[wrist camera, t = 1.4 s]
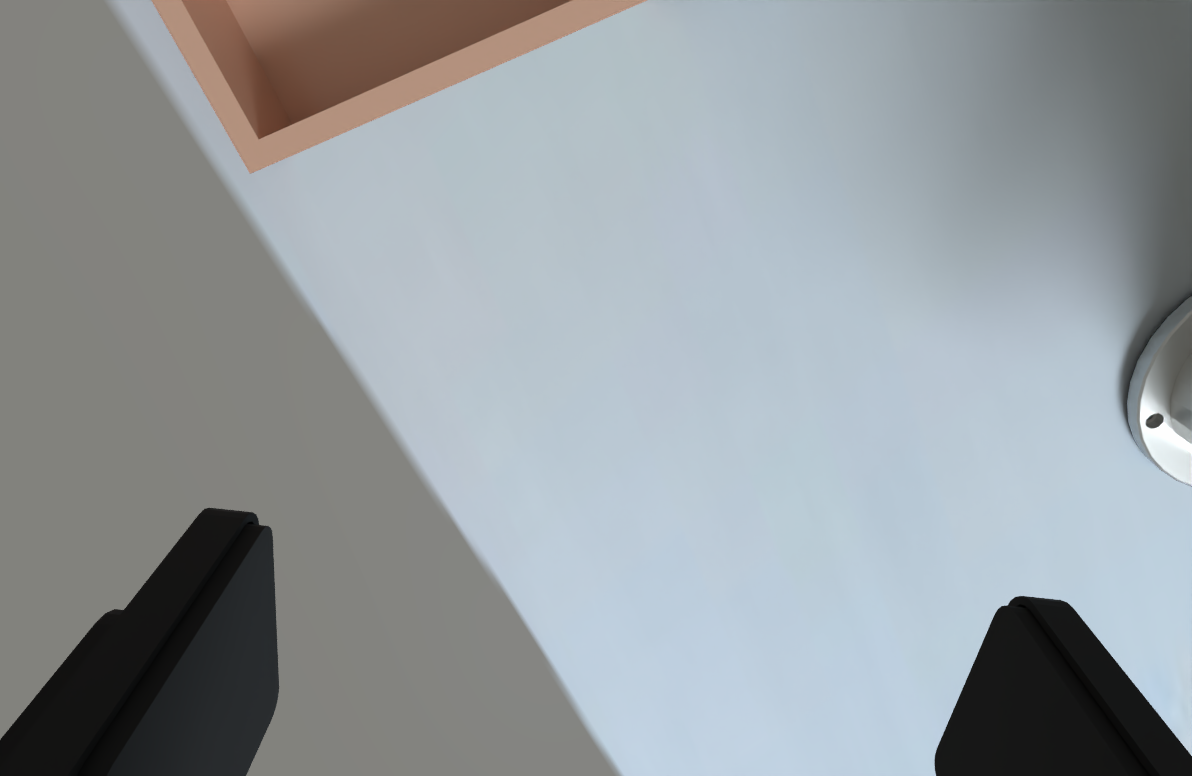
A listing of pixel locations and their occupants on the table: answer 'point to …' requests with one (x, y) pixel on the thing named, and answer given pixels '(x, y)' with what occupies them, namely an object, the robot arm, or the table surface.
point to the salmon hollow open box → (349, 57)
